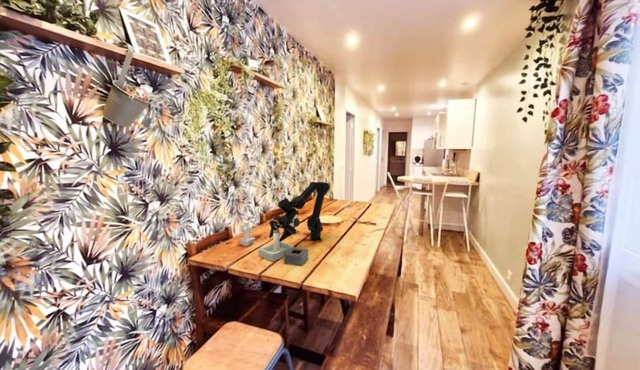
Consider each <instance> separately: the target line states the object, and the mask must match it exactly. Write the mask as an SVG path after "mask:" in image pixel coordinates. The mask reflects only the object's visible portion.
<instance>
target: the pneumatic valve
mask: <svg viewBox="0 0 640 370" xmlns="http://www.w3.org/2000/svg"><path fill="white" fill-rule="evenodd" d="M292 221H293V223H291V224H290V225H291V226H293V227H294V228H295V229H296V228H297V227H299V226H300V223H301V221H300V218H299V217H298V216H297V217H296V216H295V217H294V219H293V220H292Z"/></svg>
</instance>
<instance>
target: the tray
mask: <svg viewBox="0 0 640 370" xmlns="http://www.w3.org/2000/svg"><path fill="white" fill-rule="evenodd" d="M291 247H292V248H295V246H293V245H291V244H288V243H286V242H283V241H281V242H280V251H278V252H275V253H273V243H271V244H269V245H265V246H263V247H260V248H258V256H259V257H261V258H263V259H265V260H268V261H270V262H275V261H277V260H279V259H282V258H283V259H284V254H285V253H286V252H287V251H288V250H289V249H290V248H291Z"/></svg>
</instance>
